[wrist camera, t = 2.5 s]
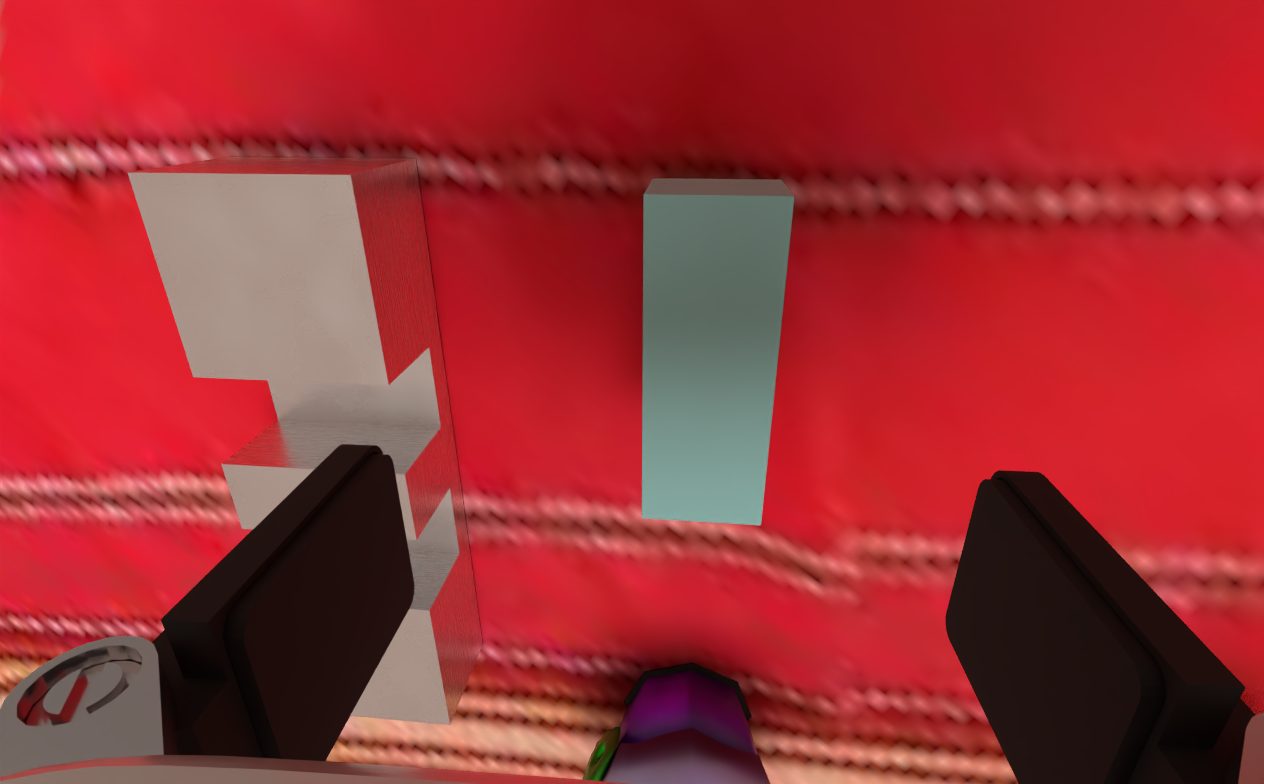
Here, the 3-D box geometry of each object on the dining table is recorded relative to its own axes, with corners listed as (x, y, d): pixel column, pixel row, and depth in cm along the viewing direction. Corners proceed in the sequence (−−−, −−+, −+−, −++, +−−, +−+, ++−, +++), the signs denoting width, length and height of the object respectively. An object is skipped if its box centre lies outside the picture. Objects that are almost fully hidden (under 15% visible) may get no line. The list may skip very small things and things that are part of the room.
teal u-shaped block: (662, 160, 19) (643, 194, 13) (766, 161, 19) (794, 196, 13) (658, 405, 22) (642, 518, 17) (746, 408, 22) (760, 525, 16)
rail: (230, 156, 20) (127, 172, 17) (415, 158, 20) (350, 175, 16) (351, 632, 29) (300, 711, 25) (482, 643, 28) (450, 725, 25)
